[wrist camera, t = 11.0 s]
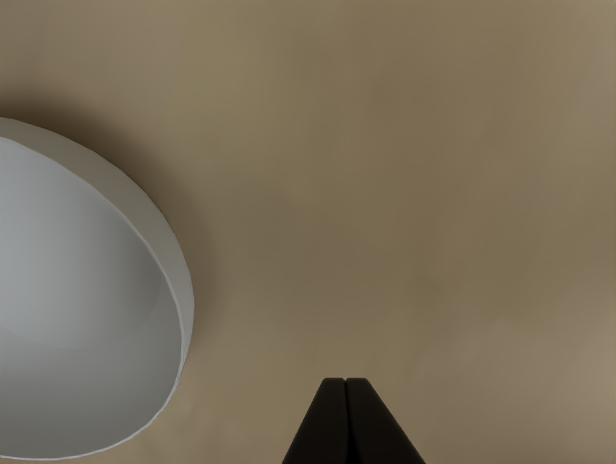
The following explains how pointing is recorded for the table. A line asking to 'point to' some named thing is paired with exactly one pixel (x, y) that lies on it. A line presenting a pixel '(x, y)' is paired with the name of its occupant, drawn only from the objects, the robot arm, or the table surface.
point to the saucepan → (83, 300)
